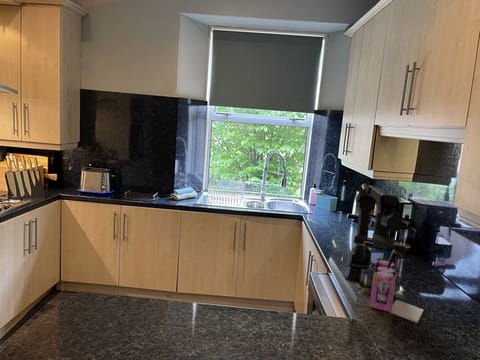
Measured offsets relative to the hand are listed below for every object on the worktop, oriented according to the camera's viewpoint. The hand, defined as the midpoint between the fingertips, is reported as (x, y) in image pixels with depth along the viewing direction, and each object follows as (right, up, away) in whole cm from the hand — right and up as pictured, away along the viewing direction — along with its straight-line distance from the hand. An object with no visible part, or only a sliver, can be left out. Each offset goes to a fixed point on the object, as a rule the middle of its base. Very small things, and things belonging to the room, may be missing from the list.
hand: (375, 265), depth 141 cm
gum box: (+4, -14, +3) cm, 15 cm away
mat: (+10, -17, -3) cm, 20 cm away
